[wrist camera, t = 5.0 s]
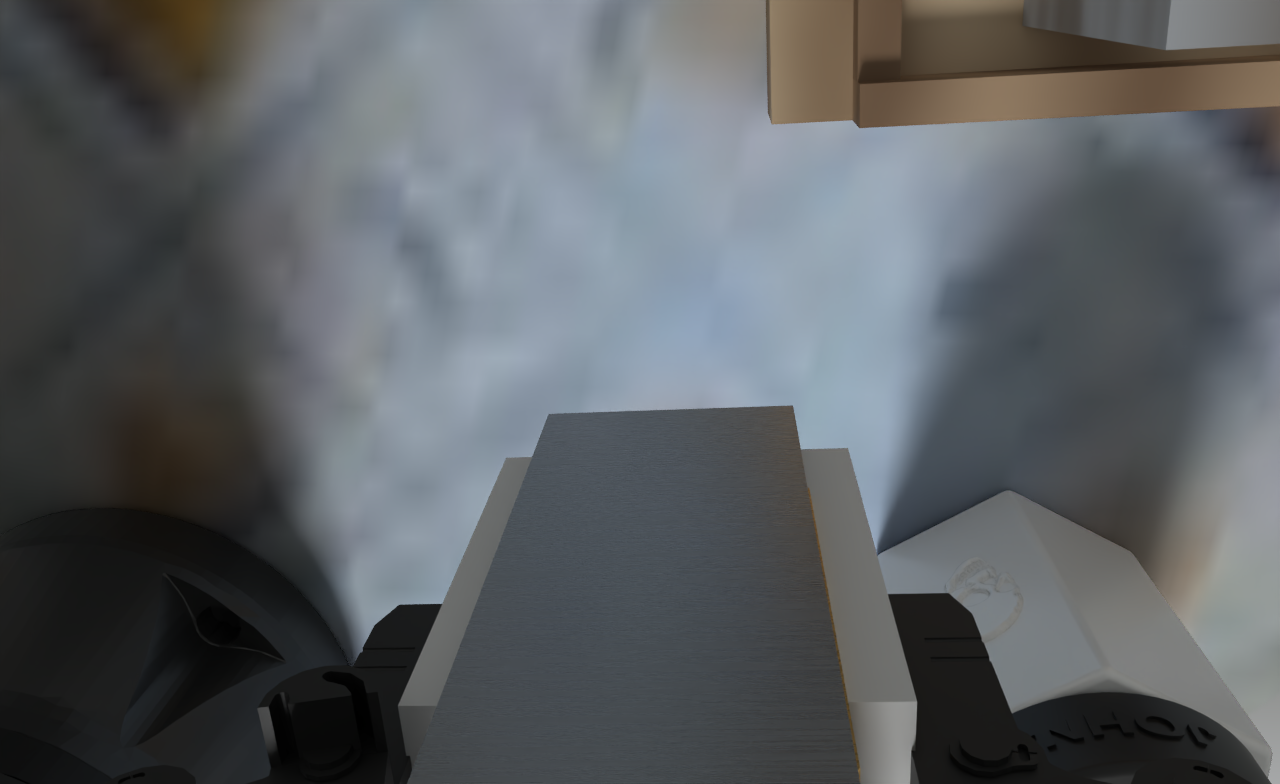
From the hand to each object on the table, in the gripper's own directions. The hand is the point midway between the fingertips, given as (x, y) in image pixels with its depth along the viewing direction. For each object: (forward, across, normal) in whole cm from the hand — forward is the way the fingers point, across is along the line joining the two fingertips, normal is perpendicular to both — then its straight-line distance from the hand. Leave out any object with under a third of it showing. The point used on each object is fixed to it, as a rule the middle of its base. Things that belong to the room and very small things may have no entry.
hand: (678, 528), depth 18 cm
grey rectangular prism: (0, 0, 0) cm, 0 cm away
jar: (+15, +9, -11) cm, 20 cm away
